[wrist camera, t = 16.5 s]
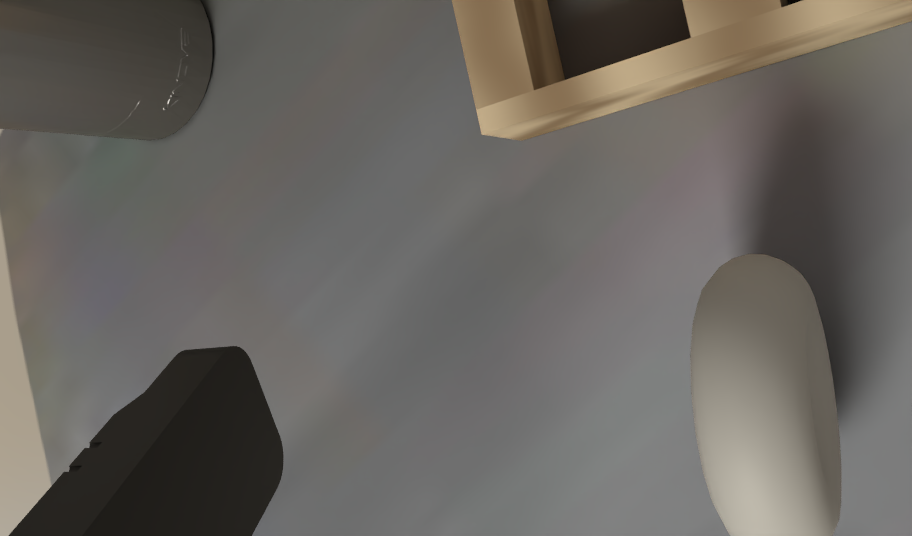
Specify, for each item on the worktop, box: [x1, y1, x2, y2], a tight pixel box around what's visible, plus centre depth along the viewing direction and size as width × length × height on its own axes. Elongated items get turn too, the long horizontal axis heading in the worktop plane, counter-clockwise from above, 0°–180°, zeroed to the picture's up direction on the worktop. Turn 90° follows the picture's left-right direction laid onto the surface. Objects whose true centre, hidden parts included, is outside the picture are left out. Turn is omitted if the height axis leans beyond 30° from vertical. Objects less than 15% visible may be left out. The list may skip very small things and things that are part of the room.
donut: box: [690, 254, 841, 536], centre depth 28 cm, size 10×4×10 cm, turn 10°
